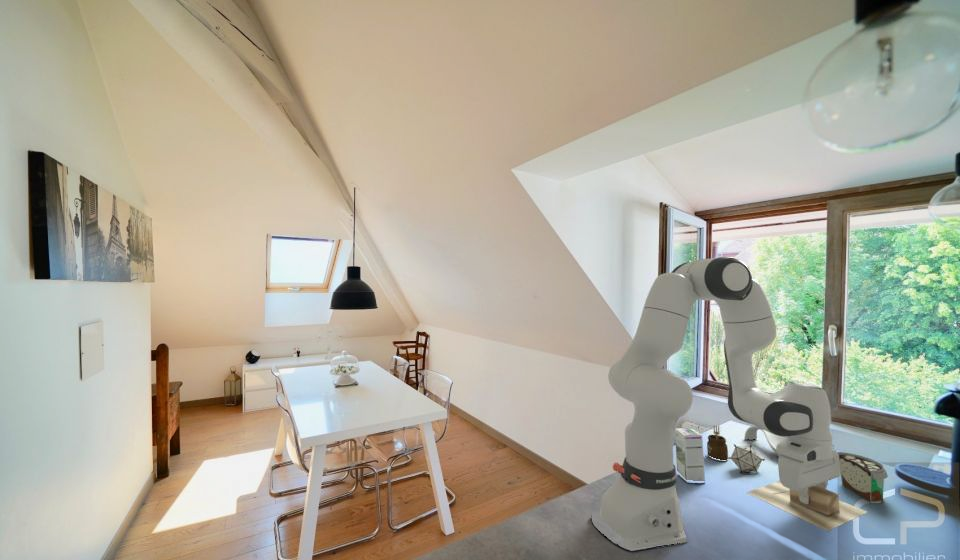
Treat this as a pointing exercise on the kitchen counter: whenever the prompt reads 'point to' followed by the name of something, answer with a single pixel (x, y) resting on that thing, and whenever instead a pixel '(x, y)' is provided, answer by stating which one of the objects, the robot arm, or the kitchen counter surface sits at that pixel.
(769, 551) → the kitchen counter surface
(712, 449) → the utensil holder
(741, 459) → the game die
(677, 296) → the robot arm
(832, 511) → the block
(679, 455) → the syrup box
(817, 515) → the board
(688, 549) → the kitchen counter surface
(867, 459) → the food container
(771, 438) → the spoon rest
